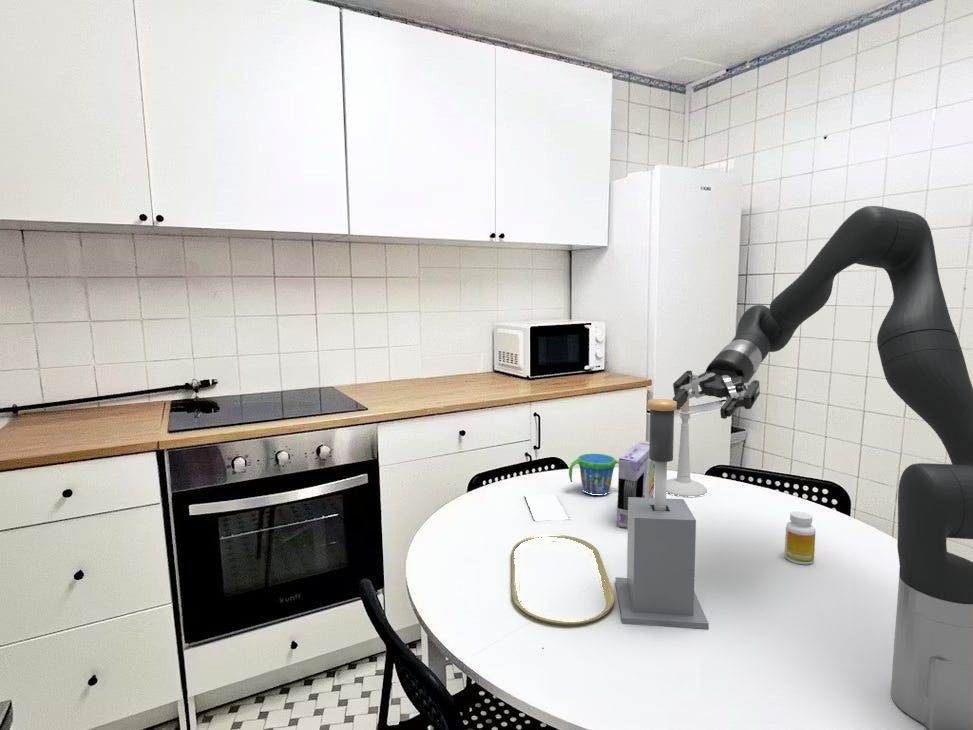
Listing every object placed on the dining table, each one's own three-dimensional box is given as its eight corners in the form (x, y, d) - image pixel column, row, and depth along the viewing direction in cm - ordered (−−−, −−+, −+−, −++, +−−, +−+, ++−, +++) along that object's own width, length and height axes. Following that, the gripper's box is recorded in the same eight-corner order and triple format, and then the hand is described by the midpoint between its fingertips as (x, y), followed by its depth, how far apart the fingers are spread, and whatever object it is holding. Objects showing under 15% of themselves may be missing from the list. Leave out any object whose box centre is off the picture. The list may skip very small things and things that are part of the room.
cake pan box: (634, 532, 130) (635, 460, 128) (613, 528, 133) (614, 457, 131) (655, 506, 146) (657, 441, 144) (637, 503, 149) (638, 439, 147)
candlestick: (711, 498, 152) (715, 391, 148) (663, 496, 154) (666, 390, 150) (701, 483, 164) (704, 384, 161) (657, 481, 166) (658, 383, 163)
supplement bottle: (818, 566, 112) (820, 520, 111) (789, 564, 113) (791, 519, 112) (808, 554, 118) (810, 510, 116) (781, 552, 119) (783, 509, 118)
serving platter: (512, 629, 93) (512, 621, 93) (511, 540, 128) (511, 534, 128) (624, 631, 92) (624, 622, 92) (592, 541, 127) (592, 534, 127)
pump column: (708, 629, 92) (711, 525, 90) (622, 623, 94) (623, 521, 92) (689, 586, 105) (692, 495, 103) (615, 582, 107) (616, 493, 105)
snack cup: (621, 486, 162) (621, 453, 161) (626, 499, 152) (627, 463, 150) (567, 486, 164) (567, 452, 162) (569, 498, 153) (569, 463, 152)
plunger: (675, 557, 96) (679, 404, 93) (647, 556, 96) (649, 403, 93) (670, 545, 100) (673, 399, 97) (643, 544, 101) (645, 398, 98)
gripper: (697, 344, 110) (658, 385, 101) (773, 353, 101) (738, 399, 91) (700, 376, 114) (663, 419, 104) (774, 387, 104) (741, 435, 94)
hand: (698, 409), depth 98 cm, fingers open, 8 cm apart
